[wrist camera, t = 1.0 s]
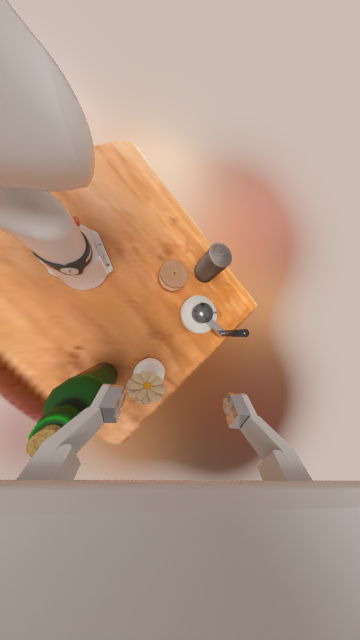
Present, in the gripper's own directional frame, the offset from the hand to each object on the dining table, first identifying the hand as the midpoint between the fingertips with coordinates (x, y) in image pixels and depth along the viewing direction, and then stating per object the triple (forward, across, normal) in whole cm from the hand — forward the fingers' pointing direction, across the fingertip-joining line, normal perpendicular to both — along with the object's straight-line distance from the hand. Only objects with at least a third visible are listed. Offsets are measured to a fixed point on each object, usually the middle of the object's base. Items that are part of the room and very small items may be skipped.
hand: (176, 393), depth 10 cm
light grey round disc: (+44, -11, +12) cm, 47 cm away
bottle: (+24, +20, +30) cm, 44 cm away
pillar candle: (+56, -12, -4) cm, 58 cm away
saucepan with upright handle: (+40, -15, +13) cm, 45 cm away
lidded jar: (+49, +3, +1) cm, 49 cm away
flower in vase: (+27, +7, +30) cm, 41 cm away
